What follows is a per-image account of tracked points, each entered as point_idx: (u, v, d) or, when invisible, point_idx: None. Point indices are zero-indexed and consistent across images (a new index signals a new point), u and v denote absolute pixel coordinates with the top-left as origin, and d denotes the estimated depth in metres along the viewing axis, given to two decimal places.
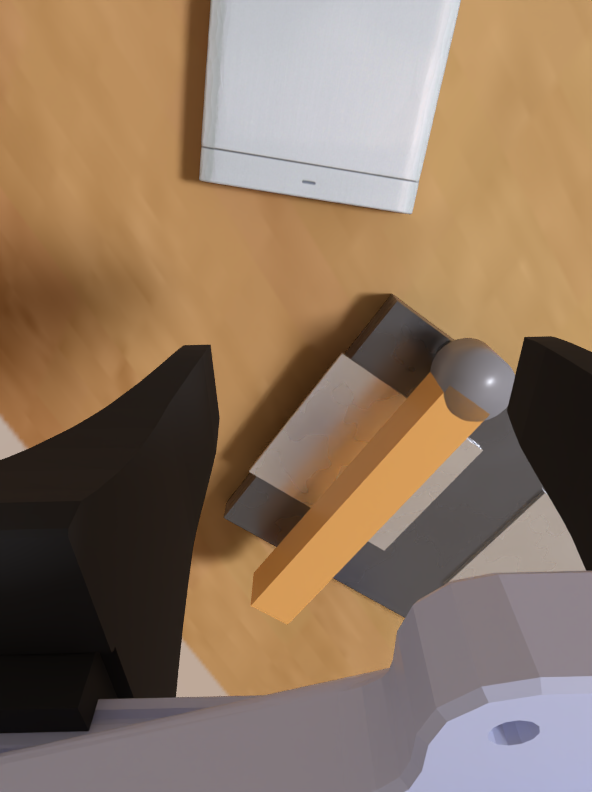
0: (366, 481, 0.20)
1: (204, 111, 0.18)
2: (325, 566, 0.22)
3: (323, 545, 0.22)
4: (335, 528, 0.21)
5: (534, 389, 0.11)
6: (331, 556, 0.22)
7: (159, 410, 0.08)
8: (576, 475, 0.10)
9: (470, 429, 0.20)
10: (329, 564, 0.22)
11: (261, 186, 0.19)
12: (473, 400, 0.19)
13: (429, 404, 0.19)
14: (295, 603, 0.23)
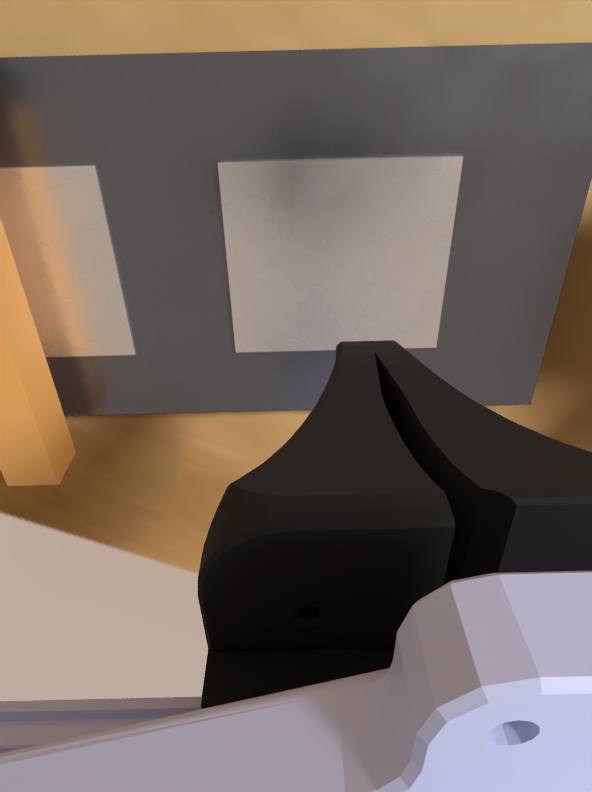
0: None
1: None
2: (12, 407, 0.18)
3: None
4: None
5: None
6: (4, 393, 0.18)
7: (379, 405, 0.08)
8: None
9: None
10: (11, 402, 0.18)
11: None
12: None
13: None
14: (36, 460, 0.20)
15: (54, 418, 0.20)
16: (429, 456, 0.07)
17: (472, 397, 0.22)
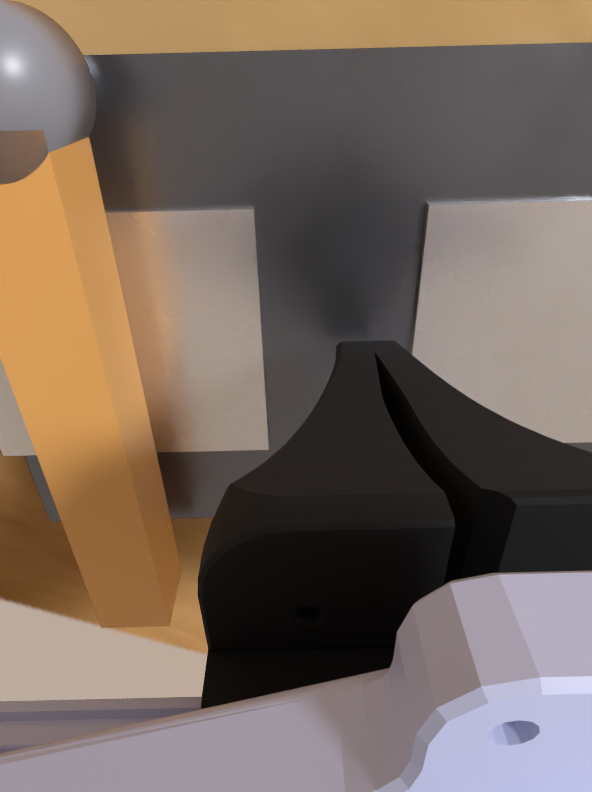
0: (18, 396, 0.11)
1: None
2: (122, 538, 0.13)
3: (84, 515, 0.13)
4: (69, 485, 0.12)
5: None
6: (113, 523, 0.13)
7: (379, 405, 0.08)
8: None
9: (49, 189, 0.09)
10: (122, 533, 0.13)
11: None
12: None
13: None
14: (145, 599, 0.15)
15: (165, 538, 0.15)
16: (429, 456, 0.07)
17: None
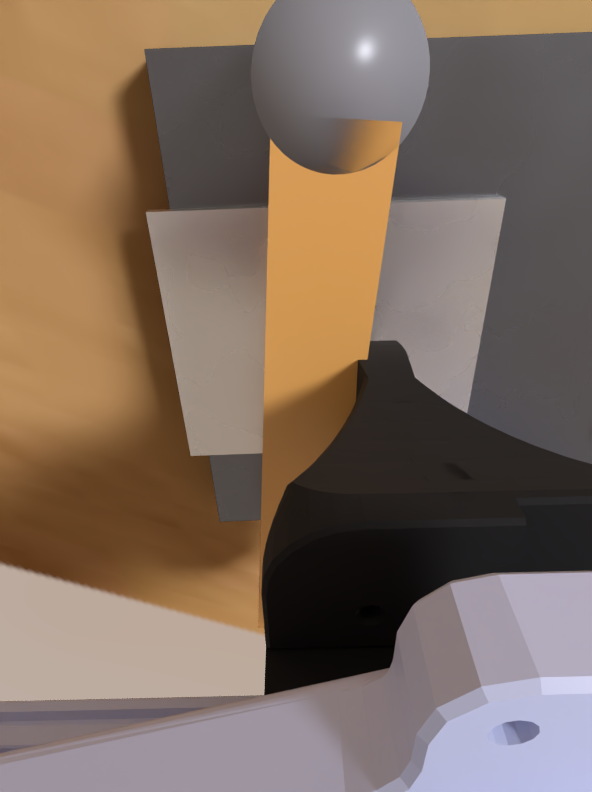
0: (268, 390, 0.11)
1: None
2: None
3: None
4: (283, 483, 0.12)
5: None
6: None
7: (419, 404, 0.08)
8: None
9: (383, 182, 0.08)
10: None
11: None
12: (344, 113, 0.08)
13: (269, 184, 0.09)
14: None
15: None
16: None
17: None
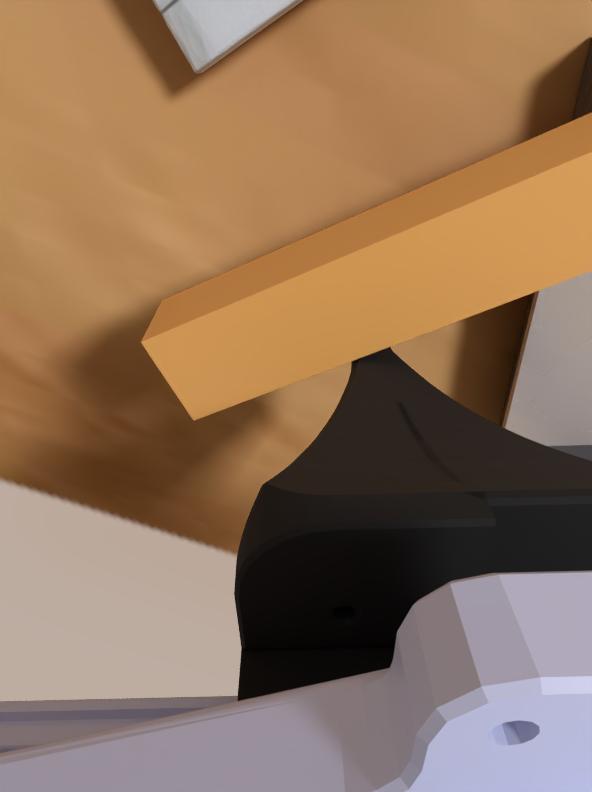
0: (583, 160, 0.08)
1: None
2: (349, 330, 0.10)
3: (381, 277, 0.09)
4: (433, 248, 0.09)
5: None
6: (377, 314, 0.10)
7: (402, 404, 0.08)
8: None
9: None
10: (360, 328, 0.10)
11: None
12: None
13: None
14: (237, 382, 0.10)
15: None
16: None
17: None
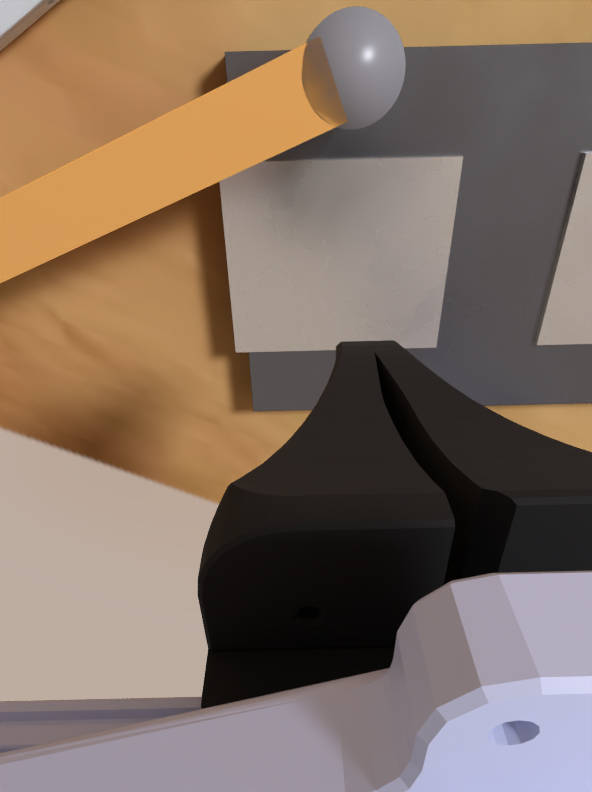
0: (145, 128, 0.14)
1: None
2: (39, 239, 0.15)
3: (47, 202, 0.15)
4: (74, 183, 0.14)
5: None
6: (53, 227, 0.15)
7: (379, 405, 0.08)
8: None
9: (314, 130, 0.14)
10: (46, 237, 0.15)
11: (9, 20, 0.15)
12: (338, 83, 0.13)
13: None
14: None
15: None
16: (429, 456, 0.07)
17: None
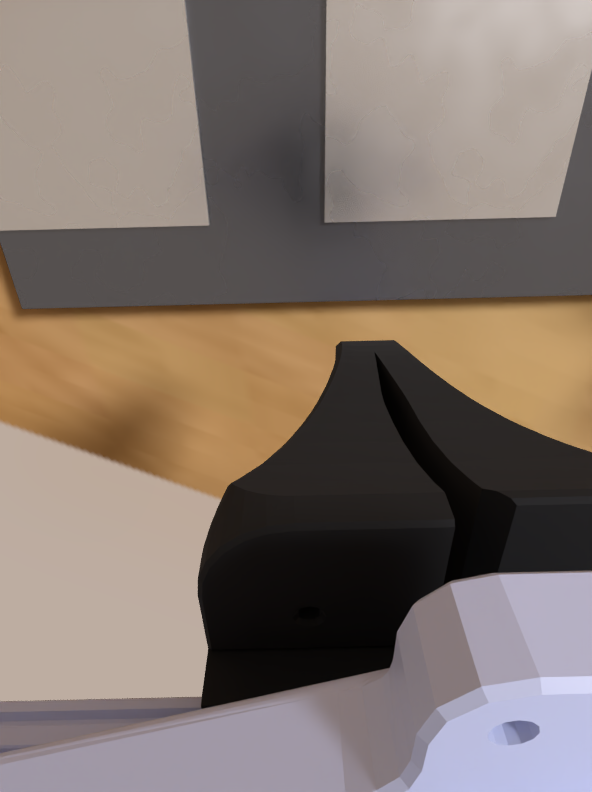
0: None
1: None
2: None
3: None
4: None
5: None
6: None
7: (379, 405, 0.08)
8: None
9: None
10: None
11: None
12: None
13: None
14: None
15: None
16: (429, 456, 0.07)
17: (587, 284, 0.20)
